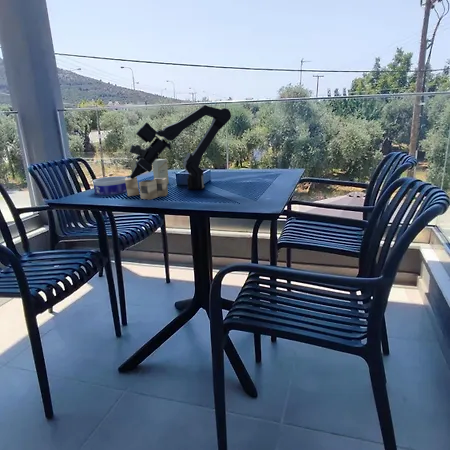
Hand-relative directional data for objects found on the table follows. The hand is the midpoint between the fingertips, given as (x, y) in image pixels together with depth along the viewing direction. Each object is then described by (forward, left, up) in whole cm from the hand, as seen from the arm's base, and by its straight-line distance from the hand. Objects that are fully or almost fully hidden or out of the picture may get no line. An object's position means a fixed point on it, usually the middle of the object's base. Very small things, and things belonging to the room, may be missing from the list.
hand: (131, 177), depth 154 cm
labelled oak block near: (-10, +6, -8) cm, 14 cm away
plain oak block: (0, 0, -7) cm, 7 cm away
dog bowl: (+14, -7, -8) cm, 17 cm away
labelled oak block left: (-13, +1, -8) cm, 15 cm away
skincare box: (-4, -24, -8) cm, 26 cm away
